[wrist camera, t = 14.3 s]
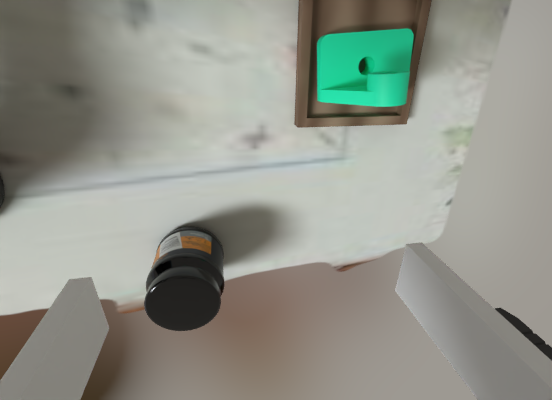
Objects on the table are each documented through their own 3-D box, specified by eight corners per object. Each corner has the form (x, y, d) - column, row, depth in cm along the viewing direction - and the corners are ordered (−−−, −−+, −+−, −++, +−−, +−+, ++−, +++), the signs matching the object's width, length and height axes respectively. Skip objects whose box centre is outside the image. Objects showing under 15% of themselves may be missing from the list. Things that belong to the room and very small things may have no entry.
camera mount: (402, 29, 38) (460, 20, 29) (396, 91, 41) (445, 100, 32) (314, 36, 36) (345, 28, 27) (315, 99, 40) (343, 111, 31)
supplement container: (163, 217, 45) (145, 267, 34) (230, 230, 48) (233, 279, 37) (153, 271, 48) (134, 331, 38) (215, 280, 51) (214, 337, 41)
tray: (294, 124, 42) (297, 127, 40) (299, -26, 34) (304, -30, 32) (399, 121, 44) (406, 124, 42) (425, -19, 37) (436, -23, 35)
